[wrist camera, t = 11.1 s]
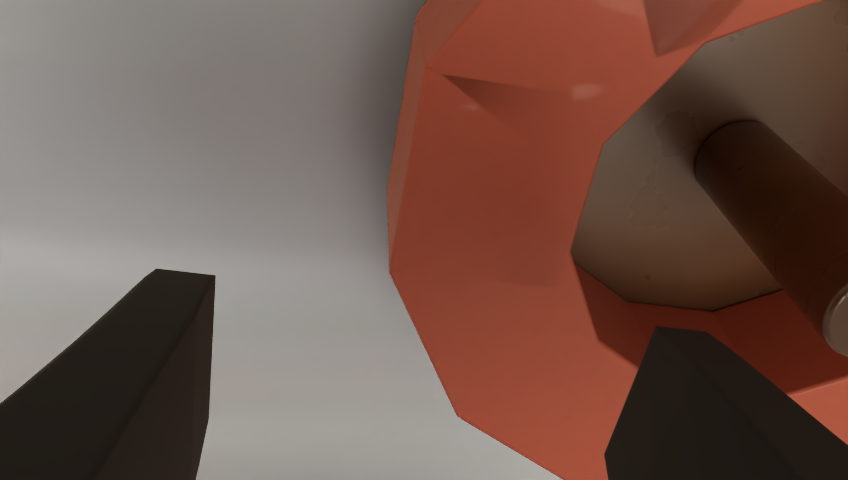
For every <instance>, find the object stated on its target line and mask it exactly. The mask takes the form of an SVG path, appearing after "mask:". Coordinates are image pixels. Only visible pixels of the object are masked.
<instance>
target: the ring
mask: <svg viewBox="0 0 848 480" xmlns="http://www.w3.org/2000/svg"><path fill="white" fill-rule="evenodd" d="M821 1H824V0H427V1H426V3H425V4H424V5H423V6H422V8H421V9H420V10H419V11H418V14H417V15H418V16H417V17H416V19H415V25H414V31H413V37H412V43H411V49H410V55H409V61H408V67H407V73H406V79H405V85H404V91H403V97H402V103H401V109H400V115H399V121H398V127H397V133H396V139H395V145H394V151H393V157H392V163H391V169H390V175H389V181H388V187H387V209H388V245H389V272H390V275H391V277H392V279H393V282H394V284H395V286H396V288H397V290H398V292H399V294H400V296H401V298H402V301H403V303H404V305H405V307H406V309H407V311H408V313H409V315H410V318H411V320H412V322H413V324H414V326H415V328H416V330H417V332H418V334H419V337H420V339H421V341H422V343H423V345H424V347H425V349H426V351H427V354H428V356H429V358H430V360H431V362H432V364H433V366H434V368H435V370H436V373H437V375H438V377H439V379H440V381H441V383H442V385H443V387H444V390H445V392H446V394H447V396H448V398H449V400H450V402H451V404H452V406H453V409H454V411H455V413H456V415H457V416H458V417H460V418H461V419H462V420H464V421H466V422H467V423H469V424H471V425H472V426H474V427H476V428H477V429H479V430H481V431H482V432H484V433H486V434H488V435H489V436H491V437H493V438H494V439H496V440H498V441H499V442H501V443H503V444H504V445H506V446H508V447H509V448H511V449H513V450H514V451H516V452H518V453H519V454H521V455H523V456H525V457H526V458H528V459H530V460H531V461H533V462H535V463H536V464H538V465H540V466H541V467H543V468H545V469H546V470H548V471H550V472H551V473H553V474H555V475H556V476H558V477H560V478H562V479H563V480H608V475H607V469H606V463H605V458H604V453H605V451H606V448H607V446H608V443H609V441H610V438H611V436H612V433H613V431H614V428H615V426H616V423H617V421H618V418H619V416H620V414H621V411H622V409H623V406H624V404H625V401H626V399H627V396H628V394H629V391H630V389H631V386H632V384H633V381H634V379H635V376H636V374H637V371H638V369H639V366H640V364H641V361H642V359H643V356H644V354H645V352H646V349H647V347H648V344H649V342H650V339H651V337H652V334H653V332H654V329H655V327H656V326H662V327H671V328H680V329H689V330H697V331H706V332H707V333H709V334H710V335H712V336H713V337H715V338H716V339H718V340H719V341H720V342H722V343H723V344H725V345H726V346H727V347H729V348H730V349H731V350H733V351H734V352H735V353H736V354H738V355H739V356H740V357H741V358H743V359H744V360H745V361H746V362H748V363H749V364H750V365H751V366H753V367H754V368H755V369H756V370H758V371H759V372H760V373H761V374H763V375H764V376H765V377H766V378H767V379H769V380H770V381H771V382H772V383H773V384H775V385H776V386H777V387H778V388H780V389H781V390H782V391H783V392H784V393H786V394H787V395H788V396H789V397H790V398H792V399H793V400H794V401H795V402H796V403H798V404H799V405H800V406H801V407H802V408H804V409H805V410H806V411H807V412H808V413H810V414H811V415H812V416H813V417H814V418H816V419H817V420H818V421H819V422H820V423H822V424H823V425H824V426H825V427H826V428H828V429H829V430H830V431H831V432H832V433H834V434H835V435H836V436H837V437H839V438H840V439H841V440H842V441H843V442H845V443H846V444H847V445H848V357H846V356H844V355H841V354H839V353H837V352H836V351H834V350H833V349H831V348H830V347H829V346H828V345H827V343H826V342H825V341H824V340H823V338H822V337H821V336H820V335H819V333H818V332H817V331H816V330H815V328H814V327H813V326H812V325H811V323H810V322H809V321H808V320H807V318H806V317H805V316H804V315H803V313H802V312H801V311H800V310H799V308H798V307H797V306H796V305H795V303H794V302H793V301H792V300H791V298H790V297H789V296H788V295H787V293H786V292H785V291H784V290H780V291H777V292H774V293H771V294H767V295H764V296H761V297H758V298H755V299H752V300H748V301H745V302H742V303H739V304H736V305H732V306H729V307H726V308H723V309H720V310H716V311H713V312H711V311H702V310H693V309H685V308H676V307H667V306H659V305H650V304H641V303H633V302H626V301H625V300H623V299H622V298H621V297H619V296H618V295H617V294H615V293H614V292H613V291H611V290H610V289H609V288H607V287H606V286H605V285H603V284H602V283H601V282H599V281H598V280H597V279H595V278H594V277H593V276H591V275H590V274H589V273H587V272H586V271H585V270H583V269H582V268H581V267H579V266H578V265H577V264H575V263H574V260H573V257H572V254H571V251H570V250H571V247H572V244H573V241H574V237H575V234H576V231H577V228H578V225H579V221H580V218H581V215H582V212H583V209H584V205H585V202H586V199H587V196H588V193H589V190H590V186H591V183H592V180H593V177H594V174H595V170H596V167H597V164H598V161H599V158H600V154H601V151H602V148H603V145H604V143H605V142H606V141H607V140H608V139H610V138H611V137H612V136H613V135H614V134H615V133H616V132H617V131H618V130H619V129H620V128H621V127H622V126H623V125H624V124H625V123H626V122H627V121H628V120H629V119H630V118H631V117H632V116H633V115H634V114H635V113H636V112H637V111H638V110H639V109H640V108H641V107H642V106H643V105H644V104H645V103H646V102H647V101H648V100H649V99H650V98H651V97H652V96H653V95H654V94H655V93H656V92H657V91H658V90H659V89H660V88H661V87H662V86H663V85H664V84H665V83H666V82H667V81H668V80H669V79H670V78H671V77H672V76H673V75H674V74H675V73H676V72H677V71H678V70H679V69H680V68H681V67H682V66H683V65H684V64H685V63H686V62H687V61H688V60H689V59H690V58H691V57H692V56H693V55H694V54H695V53H696V52H697V51H698V50H699V49H700V48H701V47H702V46H703V45H704V44H705V43H707V42H710V41H713V40H716V39H718V38H721V37H724V36H727V35H730V34H732V33H735V32H738V31H741V30H743V29H746V28H749V27H752V26H754V25H757V24H760V23H763V22H766V21H768V20H771V19H774V18H777V17H779V16H782V15H785V14H788V13H790V12H793V11H796V10H799V9H802V8H804V7H807V6H810V5H813V4H815V3H818V2H821Z"/></svg>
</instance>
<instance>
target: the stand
mask: <svg viewBox="0 0 848 480" xmlns="http://www.w3.org/2000/svg"><path fill="white" fill-rule="evenodd" d="M570 251H571V254H572V257H573V260H574V263H575V264H577V265H578V266H579V267H581V268H582V269H583V270H585V271H586V272H587V273H589V274H590V275H591V276H593V277H594V278H595V279H597V280H598V281H599V282H601V283H602V284H603V285H605V286H606V287H607V288H609V289H610V290H611V291H613V292H614V293H615V294H617V295H618V296H619V297H621V298H622V299H623V300H625V301H626V302H633V303H641V304H650V305H659V306H667V307H676V308H685V309H693V310H702V311H711V312H713V311H716V310H720V309H723V308H726V307H729V306H732V305H736V304H739V303H742V302H745V301H748V300H752V299H755V298H758V297H761V296H764V295H767V294H771V293H774V292H777V291H780V290H784V291H785V292H786V293H787V295H788V296H789V297H790V298H791V300H792V301H793V302H794V303H795V305H796V306H797V307H798V308H799V310H800V311H801V312H802V313H803V315H804V316H805V317H806V318H807V320H808V321H809V322H810V323H811V325H812V326H813V327H814V328H815V330H816V331H817V332H818V333H819V335H820V336H821V337H822V338H823V340H824V341H825V342H826V343H827V345H828V346H829V347H830V348H831V349H833V350H834V351H836V352H837V353H839V354H841V355H844V356H846V357H848V0H824V1H821V2H818V3H815V4H813V5H810V6H807V7H804V8H802V9H799V10H796V11H793V12H790V13H788V14H785V15H782V16H779V17H777V18H774V19H771V20H768V21H766V22H763V23H760V24H757V25H754V26H752V27H749V28H746V29H743V30H741V31H738V32H735V33H732V34H730V35H727V36H724V37H721V38H718V39H716V40H713V41H710V42H707V43H705V44H704V45H703V46H702V47H701V48H700V49H699V50H698V51H697V52H696V53H695V54H694V55H693V56H692V57H691V58H690V59H689V60H688V61H687V62H686V63H685V64H684V65H683V66H682V67H681V68H680V69H679V70H678V71H677V72H676V73H675V74H674V75H673V76H672V77H671V78H670V79H669V80H668V81H667V82H666V83H665V84H664V85H663V86H662V87H661V88H660V89H659V90H658V91H657V92H656V93H655V94H654V95H653V96H652V97H651V98H650V99H649V100H648V101H647V102H646V103H645V104H644V105H643V106H642V107H641V108H640V109H639V110H638V111H637V112H636V113H635V114H634V115H633V116H632V117H631V118H630V119H629V120H628V121H627V122H626V123H625V124H624V125H623V126H622V127H621V128H620V129H619V130H618V131H617V132H616V133H615V134H614V135H613V136H612V137H611V138H610V139H608V140H607V141H606V142H605V143H604V145H603V148H602V151H601V154H600V158H599V161H598V164H597V167H596V170H595V174H594V177H593V180H592V183H591V186H590V190H589V193H588V196H587V199H586V202H585V205H584V209H583V212H582V215H581V218H580V221H579V225H578V228H577V231H576V234H575V237H574V241H573V244H572V247H571V250H570Z"/></svg>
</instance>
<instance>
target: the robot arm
mask: <svg viewBox="0 0 848 480" xmlns="http://www.w3.org/2000/svg"><path fill="white" fill-rule="evenodd" d="M214 296H215V275H207V274H198V273H189V272H180V271H172V270H163V269H156V270H154V271H153V272H151V273H150V274H148V275H147V276H146V277H144V278H143V279H142V280H141V281H140V282H139V283H138V284H137V285H136V286H135V287H134V288H133V289H131V290H130V291H129V292H128V293H127V294H126V295H125V296H124V297H123V298H122V299H121V300H120V301H119V302H118V303H116V304H115V305H114V306H113V307H112V308H111V309H110V310H109V311H108V312H107V313H106V314H104V315H103V316H102V317H101V318H100V319H99V320H98V321H97V322H96V323H95V324H93V325H92V326H91V327H90V328H89V329H88V330H87V331H86V332H84V333H83V334H82V335H81V336H80V337H79V338H78V339H77V340H76V341H74V342H73V343H72V344H71V345H70V346H69V347H67V348H66V349H65V350H64V351H63V352H62V353H60V354H59V355H58V356H57V357H56V358H54V359H53V360H52V361H51V362H50V363H48V364H47V365H46V366H45V367H44V368H43V369H41V370H40V371H39V372H38V373H37V374H35V375H34V376H33V377H32V378H31V379H30V380H28V381H27V382H26V383H25V384H24V385H22V386H21V387H20V388H19V389H18V390H16V391H15V392H14V393H13V394H11V395H10V396H9V397H8V398H6V399H5V400H4V401H3V402H1V403H0V480H196V476H197V471H198V467H199V462H200V457H201V452H202V448H203V443H204V438H205V433H206V429H207V424H208V419H209V399H210V379H211V358H212V337H213V316H214ZM604 458H605V463H606V469H607V475H608V480H848V445H847V444H846V443H845V442H843V441H842V440H841V439H840V438H839V437H837V436H836V435H835V434H834V433H832V432H831V431H830V430H829V429H828V428H826V427H825V426H824V425H823V424H822V423H820V422H819V421H818V420H817V419H816V418H814V417H813V416H812V415H811V414H810V413H808V412H807V411H806V410H805V409H804V408H802V407H801V406H800V405H799V404H798V403H796V402H795V401H794V400H793V399H792V398H790V397H789V396H788V395H787V394H786V393H784V392H783V391H782V390H781V389H780V388H778V387H777V386H776V385H775V384H773V383H772V382H771V381H770V380H769V379H767V378H766V377H765V376H764V375H763V374H761V373H760V372H759V371H758V370H756V369H755V368H754V367H753V366H751V365H750V364H749V363H748V362H746V361H745V360H744V359H743V358H741V357H740V356H739V355H738V354H736V353H735V352H734V351H733V350H731V349H730V348H729V347H727V346H726V345H725V344H723V343H722V342H720V341H719V340H718V339H716V338H715V337H713V336H712V335H710V334H709V333H707V332H706V331H697V330H689V329H680V328H671V327H662V326H656V327H655V329H654V332H653V334H652V337H651V339H650V342H649V344H648V347H647V349H646V352H645V354H644V356H643V359H642V361H641V364H640V366H639V369H638V371H637V374H636V376H635V379H634V381H633V384H632V386H631V389H630V391H629V394H628V396H627V399H626V401H625V404H624V406H623V409H622V411H621V414H620V416H619V418H618V421H617V423H616V426H615V428H614V431H613V433H612V436H611V438H610V441H609V443H608V446H607V448H606V451H605V453H604Z"/></svg>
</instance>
